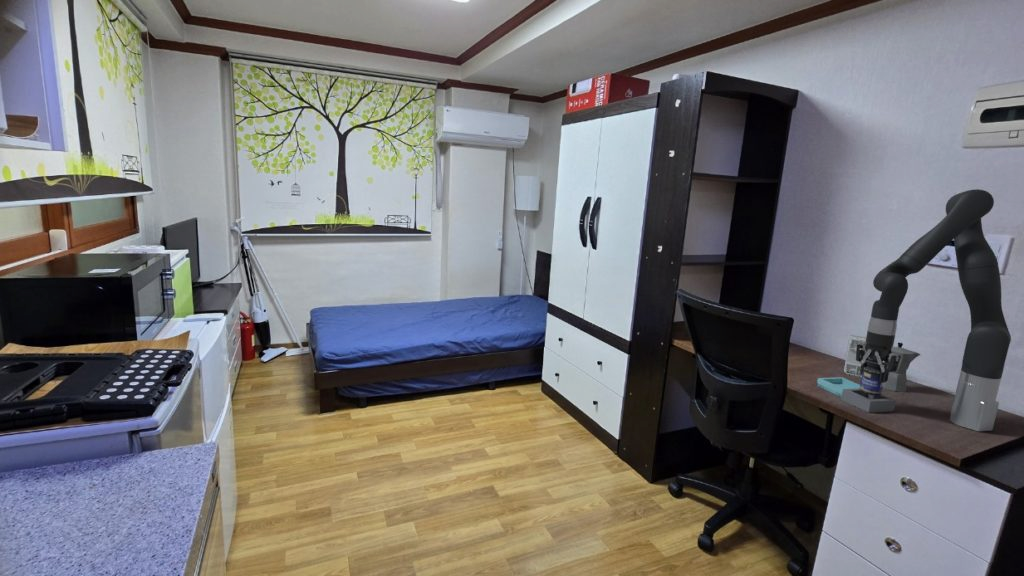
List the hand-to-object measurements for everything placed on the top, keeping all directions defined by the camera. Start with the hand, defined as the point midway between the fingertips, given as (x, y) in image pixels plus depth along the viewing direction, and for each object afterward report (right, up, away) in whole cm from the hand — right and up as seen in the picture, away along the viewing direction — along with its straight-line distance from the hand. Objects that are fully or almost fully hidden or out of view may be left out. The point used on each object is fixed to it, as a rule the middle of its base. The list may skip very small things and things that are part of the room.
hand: (872, 378), depth 163 cm
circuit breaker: (+21, -4, +38) cm, 44 cm away
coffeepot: (+22, -8, +21) cm, 31 cm away
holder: (-1, -10, +2) cm, 10 cm away
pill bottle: (0, -5, +1) cm, 5 cm away
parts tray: (-1, -7, +15) cm, 16 cm away
